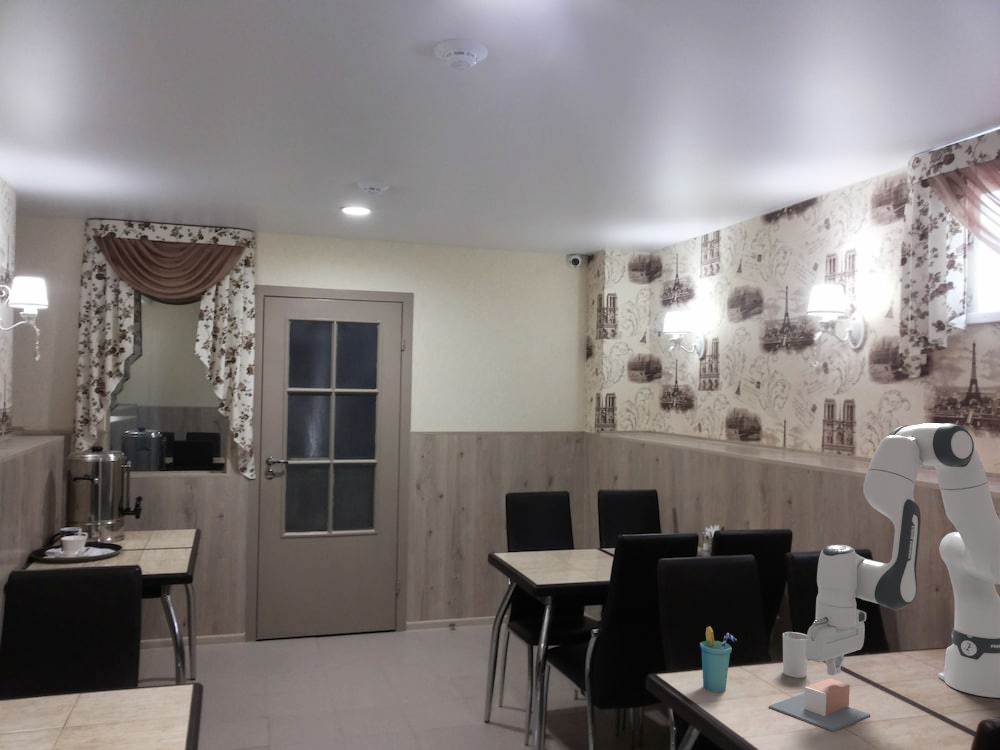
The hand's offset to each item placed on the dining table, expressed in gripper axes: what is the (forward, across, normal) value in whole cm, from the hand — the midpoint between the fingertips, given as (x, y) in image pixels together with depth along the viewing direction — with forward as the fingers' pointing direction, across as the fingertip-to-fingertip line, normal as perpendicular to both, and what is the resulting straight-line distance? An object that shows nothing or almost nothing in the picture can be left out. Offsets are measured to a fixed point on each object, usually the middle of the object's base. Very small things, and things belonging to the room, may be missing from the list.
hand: (833, 673), depth 193 cm
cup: (+8, -15, +22) cm, 28 cm away
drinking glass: (+8, +13, +18) cm, 24 cm away
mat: (+8, -6, 0) cm, 10 cm away
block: (+5, +3, 0) cm, 5 cm away
